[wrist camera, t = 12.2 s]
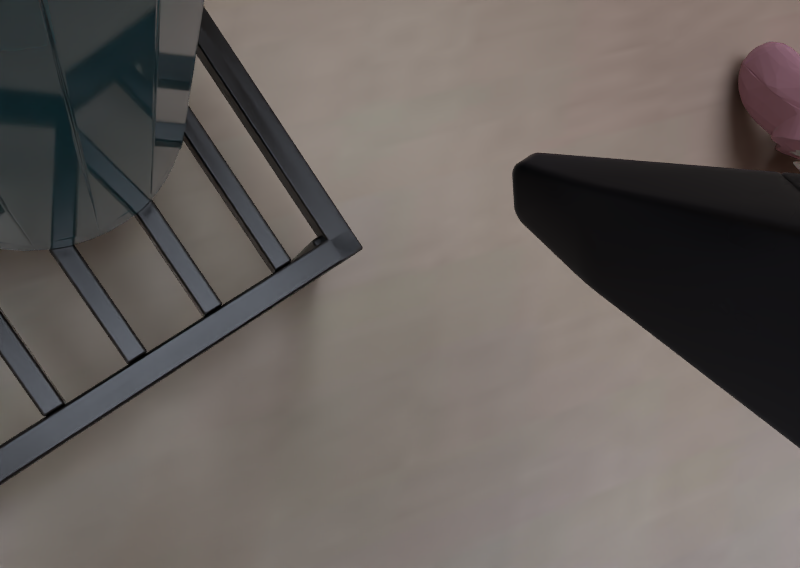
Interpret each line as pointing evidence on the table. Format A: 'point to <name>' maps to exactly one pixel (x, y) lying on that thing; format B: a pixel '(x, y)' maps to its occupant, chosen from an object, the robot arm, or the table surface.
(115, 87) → the pen cup
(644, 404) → the table surface
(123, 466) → the table surface
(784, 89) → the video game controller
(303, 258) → the slatted lounge chair
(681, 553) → the table surface
